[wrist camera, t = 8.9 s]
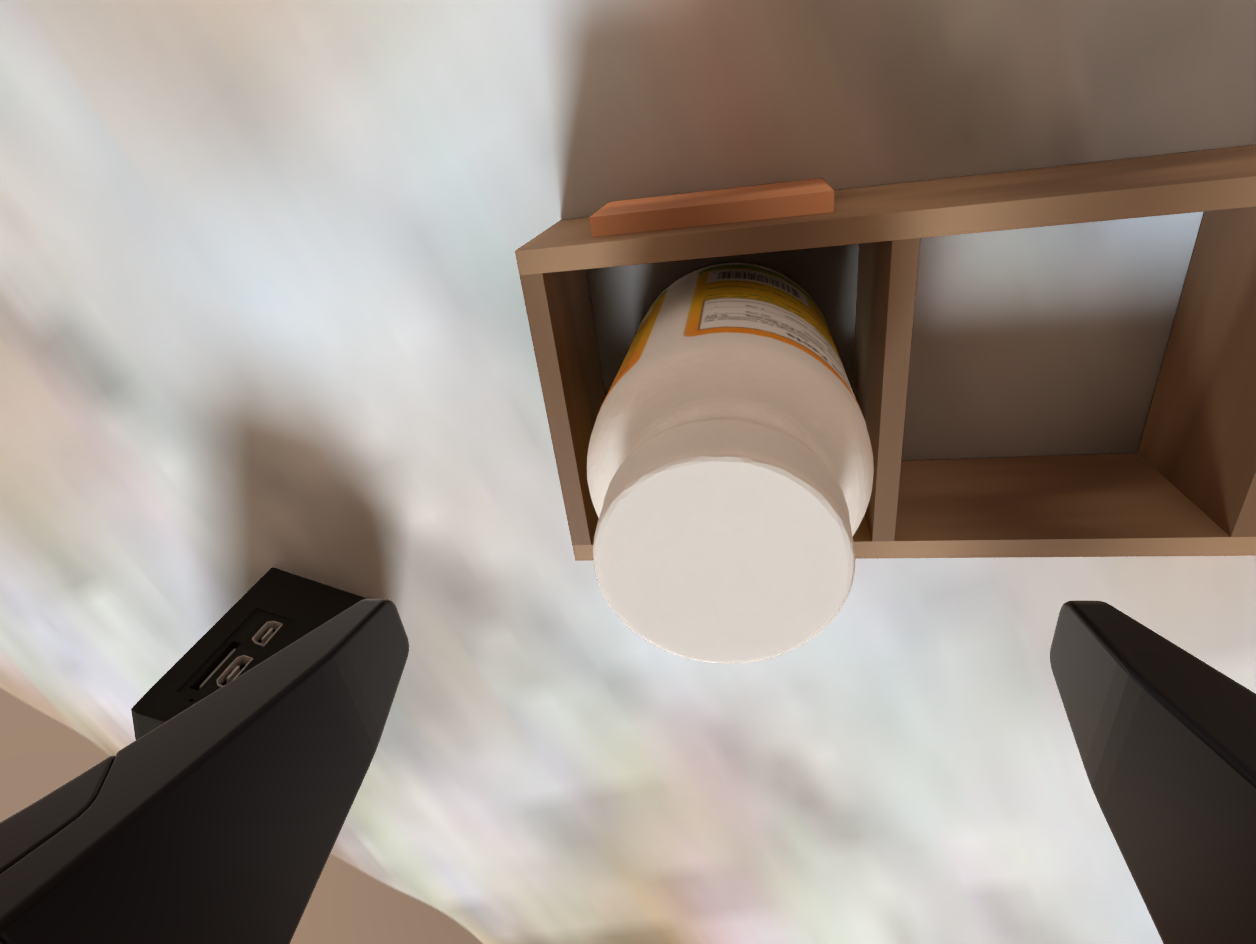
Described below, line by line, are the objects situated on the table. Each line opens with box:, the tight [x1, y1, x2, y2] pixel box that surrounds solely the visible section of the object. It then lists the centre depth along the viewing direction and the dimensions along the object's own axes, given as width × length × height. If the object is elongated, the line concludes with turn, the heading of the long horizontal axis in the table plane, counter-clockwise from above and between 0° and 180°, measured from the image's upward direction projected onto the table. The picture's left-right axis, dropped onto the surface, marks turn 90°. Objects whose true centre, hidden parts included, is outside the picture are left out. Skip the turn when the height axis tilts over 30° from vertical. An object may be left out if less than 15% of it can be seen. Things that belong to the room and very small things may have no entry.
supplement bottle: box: [587, 263, 874, 663], centre depth 14 cm, size 5×5×10 cm
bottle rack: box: [515, 145, 1256, 560], centre depth 15 cm, size 23×8×4 cm, turn 97°
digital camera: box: [131, 568, 366, 740], centre depth 25 cm, size 10×5×7 cm, turn 164°
